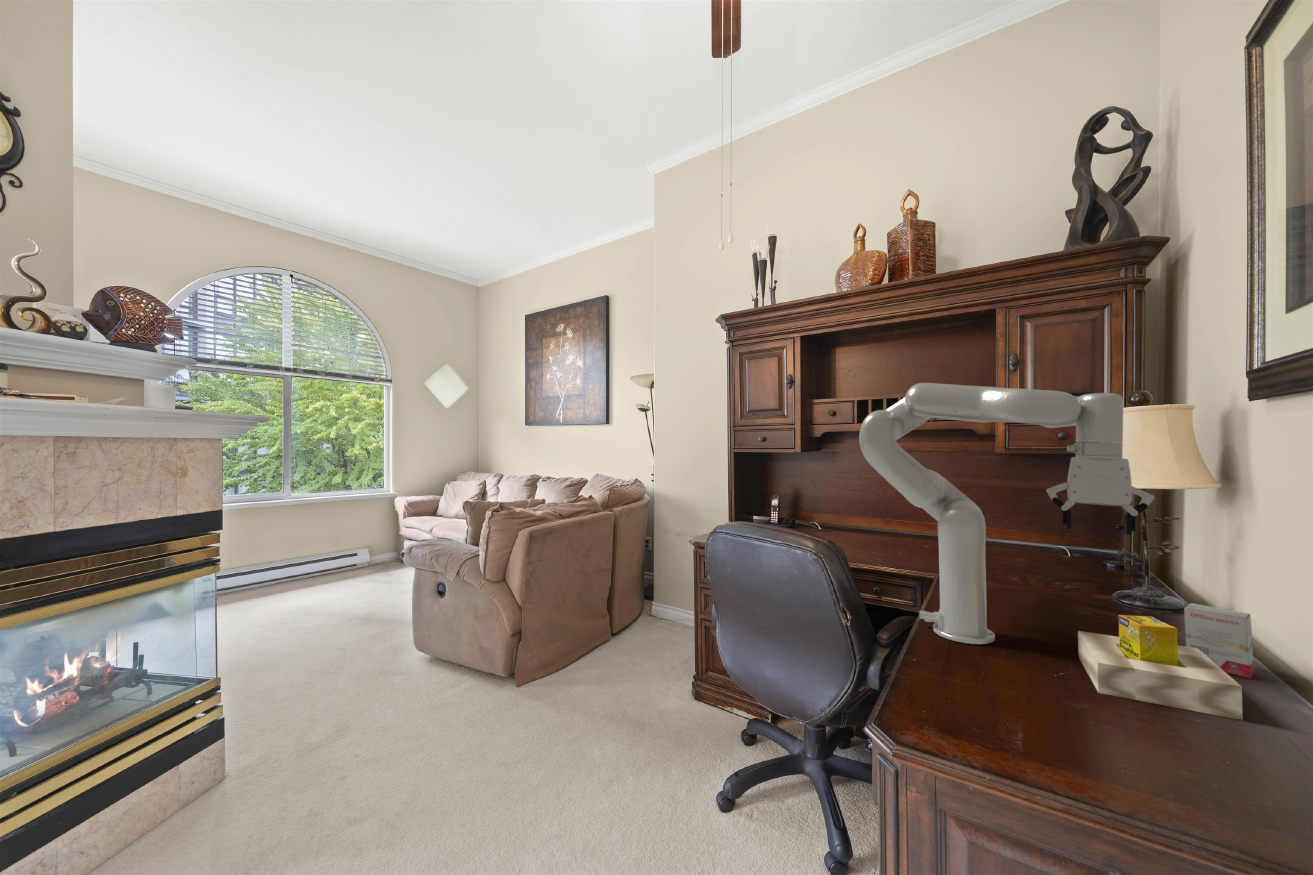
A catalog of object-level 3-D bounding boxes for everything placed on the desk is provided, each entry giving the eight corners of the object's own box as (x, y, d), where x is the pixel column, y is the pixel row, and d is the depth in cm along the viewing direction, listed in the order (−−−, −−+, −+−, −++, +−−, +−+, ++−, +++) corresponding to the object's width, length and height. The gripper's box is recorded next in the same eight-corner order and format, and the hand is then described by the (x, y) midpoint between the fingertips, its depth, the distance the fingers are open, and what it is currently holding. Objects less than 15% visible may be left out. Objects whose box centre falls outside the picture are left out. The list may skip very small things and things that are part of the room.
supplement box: (1118, 670, 98) (1117, 614, 98) (1155, 673, 97) (1153, 616, 97) (1140, 684, 92) (1138, 624, 92) (1179, 687, 91) (1178, 627, 91)
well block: (1098, 692, 91) (1097, 662, 91) (1078, 656, 106) (1078, 630, 107) (1242, 720, 82) (1241, 686, 82) (1198, 676, 97) (1197, 648, 97)
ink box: (1254, 673, 98) (1253, 613, 98) (1250, 680, 95) (1248, 618, 96) (1190, 657, 106) (1189, 601, 106) (1185, 663, 103) (1183, 606, 103)
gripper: (1048, 450, 108) (1047, 528, 108) (1159, 452, 99) (1158, 539, 99) (1046, 450, 115) (1044, 524, 115) (1150, 452, 105) (1148, 533, 105)
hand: (1097, 531), depth 107 cm, fingers open, 9 cm apart
